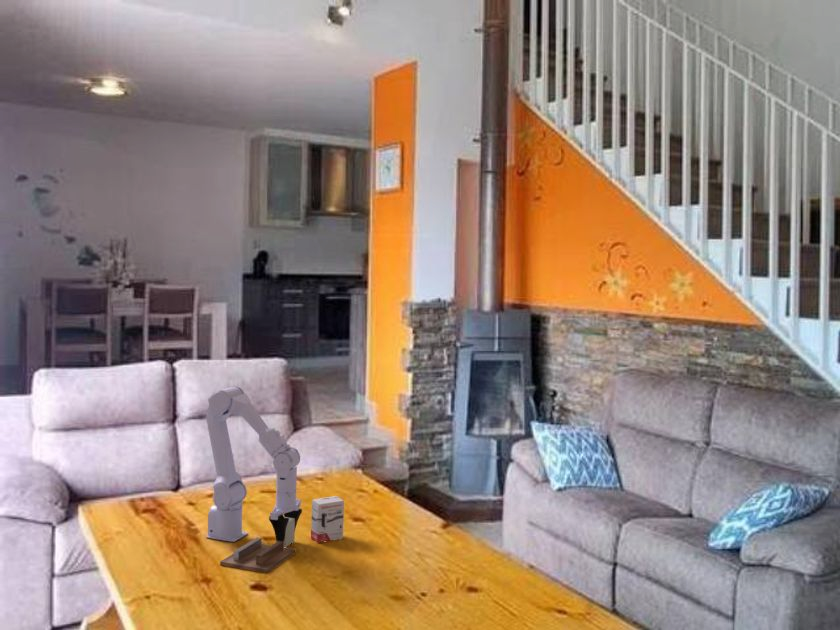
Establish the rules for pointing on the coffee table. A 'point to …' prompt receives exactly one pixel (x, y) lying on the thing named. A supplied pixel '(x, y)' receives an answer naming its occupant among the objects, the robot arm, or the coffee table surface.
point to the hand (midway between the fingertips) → (285, 537)
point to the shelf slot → (261, 558)
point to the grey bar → (247, 549)
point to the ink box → (327, 519)
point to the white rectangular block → (289, 532)
